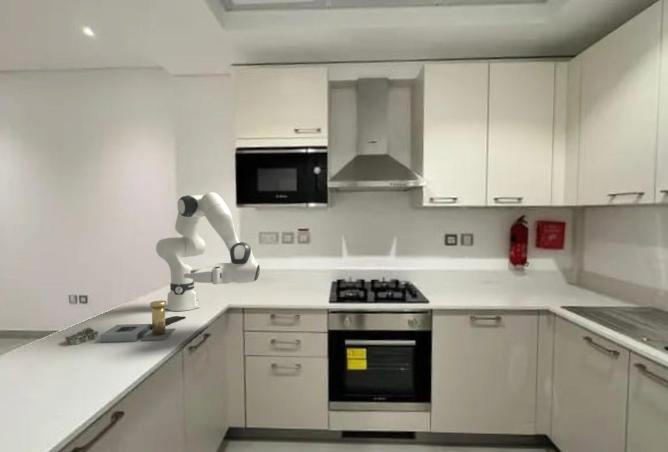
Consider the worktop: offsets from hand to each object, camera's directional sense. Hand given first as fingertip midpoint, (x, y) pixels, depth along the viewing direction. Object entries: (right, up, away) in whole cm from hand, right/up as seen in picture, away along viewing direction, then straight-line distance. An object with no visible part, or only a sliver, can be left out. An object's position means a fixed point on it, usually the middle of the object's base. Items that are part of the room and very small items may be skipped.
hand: (187, 273), depth 157 cm
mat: (-12, -26, -1) cm, 29 cm away
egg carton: (-40, -27, -7) cm, 49 cm away
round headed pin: (-12, -25, -1) cm, 28 cm away
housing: (-25, -26, -2) cm, 36 cm away
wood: (-17, -26, +17) cm, 35 cm away
